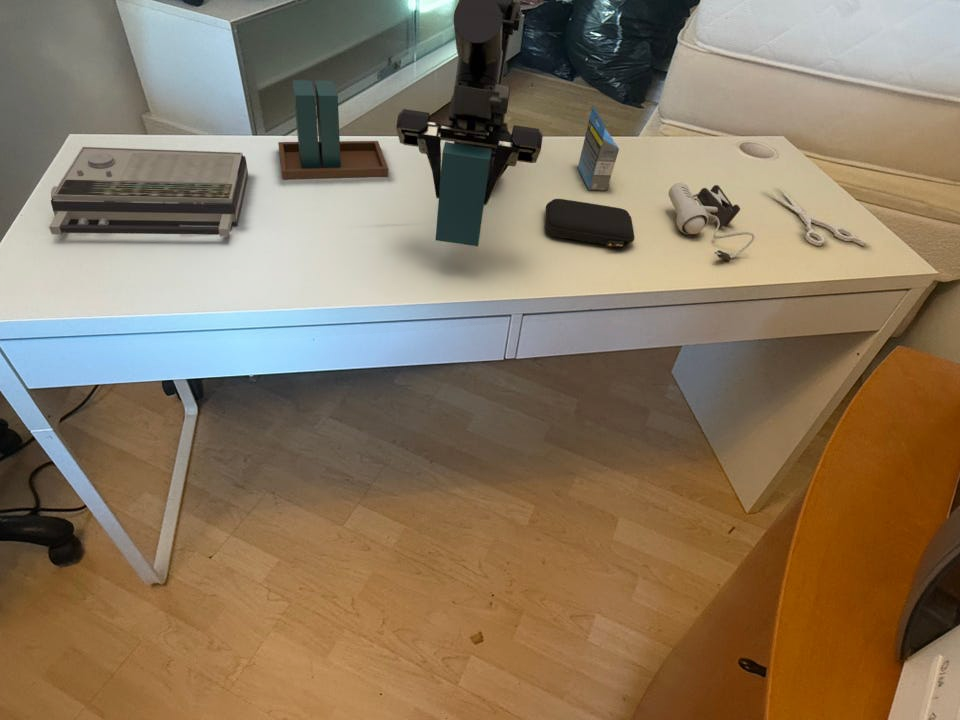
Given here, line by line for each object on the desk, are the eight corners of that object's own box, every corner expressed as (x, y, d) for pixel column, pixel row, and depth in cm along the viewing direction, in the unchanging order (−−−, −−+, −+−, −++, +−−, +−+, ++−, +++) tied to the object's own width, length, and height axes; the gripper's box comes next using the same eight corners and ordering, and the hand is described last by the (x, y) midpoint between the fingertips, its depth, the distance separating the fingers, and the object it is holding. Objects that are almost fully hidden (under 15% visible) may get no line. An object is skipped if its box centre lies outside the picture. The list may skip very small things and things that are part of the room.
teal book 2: (337, 155, 110) (334, 80, 101) (341, 171, 106) (338, 95, 97) (319, 155, 109) (314, 80, 100) (323, 171, 105) (318, 95, 96)
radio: (244, 146, 99) (228, 212, 85) (248, 176, 102) (234, 244, 89) (76, 139, 94) (30, 208, 80) (87, 171, 98) (45, 242, 84)
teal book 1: (317, 155, 109) (312, 80, 100) (320, 171, 105) (315, 95, 96) (299, 155, 108) (292, 80, 99) (302, 172, 104) (295, 95, 95)
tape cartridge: (608, 191, 114) (627, 126, 105) (588, 190, 113) (605, 125, 105) (595, 168, 120) (611, 105, 111) (576, 167, 119) (591, 104, 111)
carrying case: (542, 242, 99) (633, 256, 99) (546, 226, 97) (638, 240, 97) (544, 209, 106) (628, 222, 107) (547, 193, 104) (633, 206, 104)
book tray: (378, 151, 114) (378, 140, 113) (388, 179, 107) (388, 168, 106) (279, 153, 109) (278, 141, 108) (283, 182, 102) (281, 171, 101)
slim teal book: (437, 228, 87) (445, 141, 78) (479, 234, 88) (491, 148, 79) (435, 240, 85) (442, 152, 76) (478, 246, 85) (490, 159, 76)
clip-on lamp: (749, 274, 105) (710, 200, 114) (773, 248, 100) (730, 173, 109) (691, 272, 101) (655, 195, 110) (713, 245, 96) (674, 167, 105)
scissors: (821, 247, 107) (751, 188, 119) (819, 251, 107) (750, 192, 120) (867, 242, 110) (794, 185, 123) (864, 246, 110) (792, 189, 123)
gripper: (400, 41, 73) (383, 171, 72) (556, 64, 73) (539, 193, 73) (408, 84, 84) (393, 197, 83) (543, 104, 84) (528, 216, 84)
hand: (461, 200), depth 81 cm, fingers closed on slim teal book, 6 cm apart
